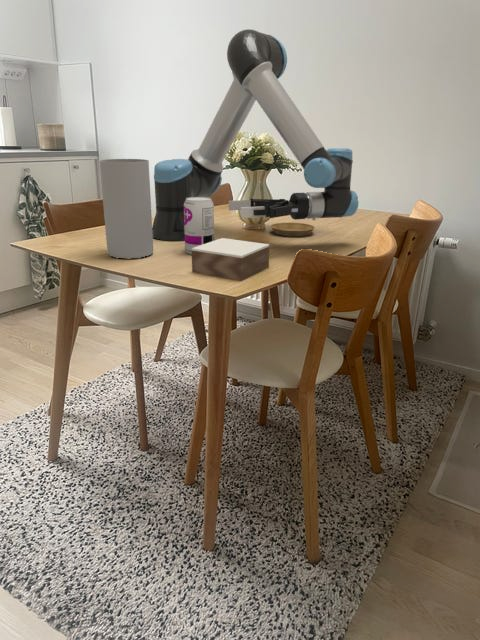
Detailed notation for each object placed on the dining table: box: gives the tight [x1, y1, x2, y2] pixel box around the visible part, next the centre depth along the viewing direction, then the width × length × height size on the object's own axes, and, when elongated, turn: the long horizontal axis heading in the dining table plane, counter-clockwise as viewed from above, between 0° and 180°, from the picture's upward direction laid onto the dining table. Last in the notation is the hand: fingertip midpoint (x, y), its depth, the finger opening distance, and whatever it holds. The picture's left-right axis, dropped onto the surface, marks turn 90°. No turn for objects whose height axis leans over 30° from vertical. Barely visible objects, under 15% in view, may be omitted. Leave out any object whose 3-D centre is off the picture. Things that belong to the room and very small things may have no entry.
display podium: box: [191, 237, 270, 282], centre depth 126 cm, size 14×14×6 cm
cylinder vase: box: [99, 158, 154, 259], centre depth 136 cm, size 12×12×25 cm
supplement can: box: [184, 196, 215, 256], centre depth 141 cm, size 8×8×15 cm
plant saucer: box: [270, 222, 315, 238], centre depth 170 cm, size 15×15×3 cm
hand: (234, 209), depth 141 cm, fingers open, 13 cm apart
